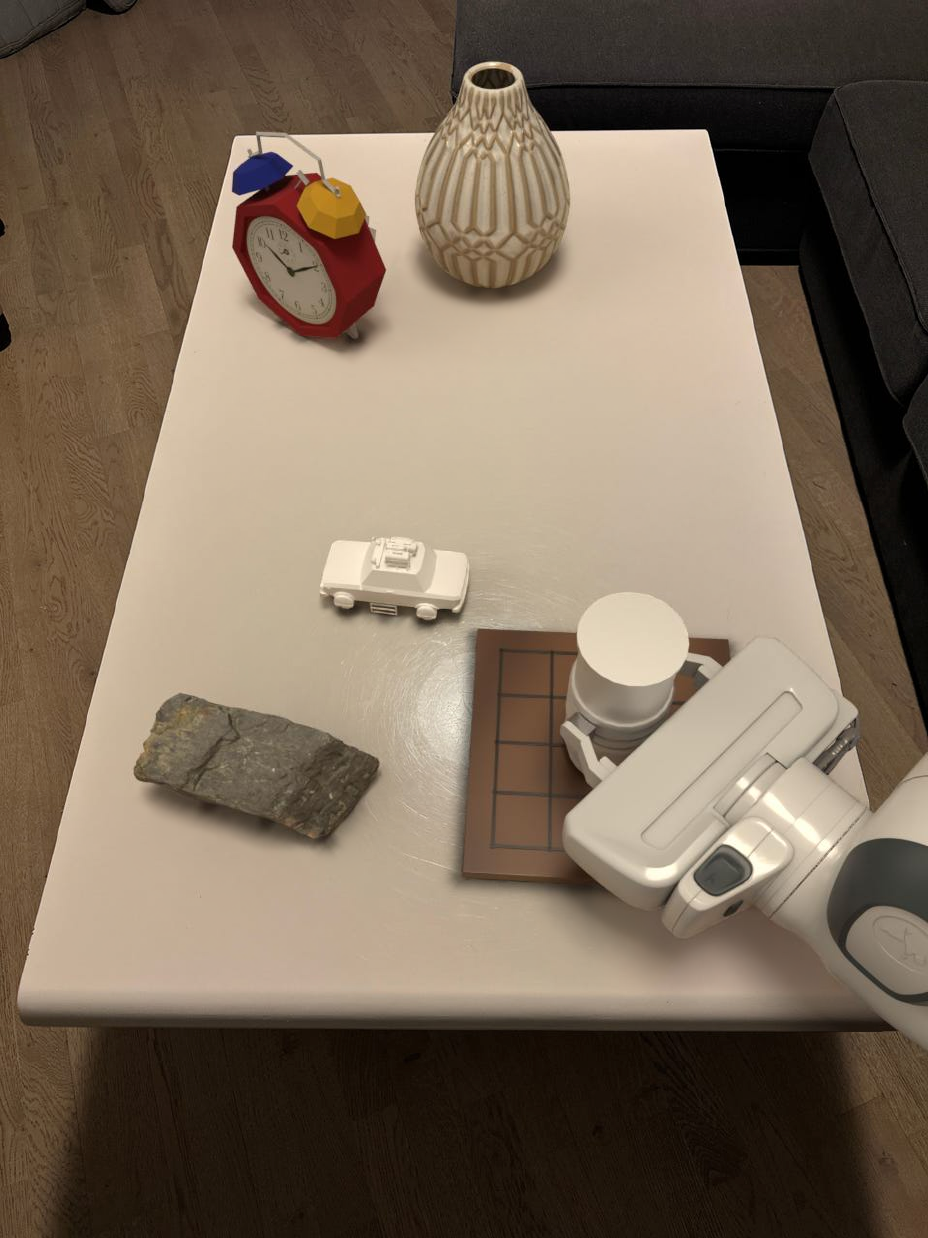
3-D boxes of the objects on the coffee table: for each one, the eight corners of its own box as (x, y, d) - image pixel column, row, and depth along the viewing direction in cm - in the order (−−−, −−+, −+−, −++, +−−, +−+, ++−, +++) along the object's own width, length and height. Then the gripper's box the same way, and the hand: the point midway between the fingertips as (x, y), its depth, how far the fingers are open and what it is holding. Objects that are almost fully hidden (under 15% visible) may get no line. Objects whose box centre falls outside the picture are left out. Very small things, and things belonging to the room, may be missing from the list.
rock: (114, 836, 63) (129, 691, 66) (152, 844, 70) (163, 711, 73) (368, 832, 62) (371, 686, 65) (382, 841, 69) (384, 707, 72)
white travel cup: (672, 737, 70) (712, 628, 57) (619, 806, 67) (649, 708, 54) (596, 686, 72) (618, 571, 60) (541, 751, 69) (553, 645, 57)
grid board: (725, 646, 76) (728, 638, 75) (751, 893, 65) (755, 888, 64) (477, 636, 77) (477, 627, 76) (462, 878, 66) (462, 872, 65)
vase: (543, 324, 97) (555, 135, 81) (398, 295, 100) (381, 107, 83) (580, 233, 106) (598, 44, 89) (445, 209, 108) (438, 22, 92)
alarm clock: (246, 309, 99) (198, 122, 83) (300, 266, 103) (265, 79, 86) (354, 365, 94) (327, 178, 78) (407, 318, 98) (391, 130, 81)
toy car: (335, 556, 81) (324, 505, 76) (472, 571, 80) (472, 521, 75) (319, 613, 78) (307, 564, 73) (462, 630, 77) (460, 582, 71)
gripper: (893, 700, 58) (717, 570, 64) (679, 930, 51) (502, 760, 57) (859, 744, 64) (700, 620, 69) (661, 958, 56) (501, 800, 62)
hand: (609, 684), depth 63 cm, fingers closed on white travel cup, 7 cm apart
